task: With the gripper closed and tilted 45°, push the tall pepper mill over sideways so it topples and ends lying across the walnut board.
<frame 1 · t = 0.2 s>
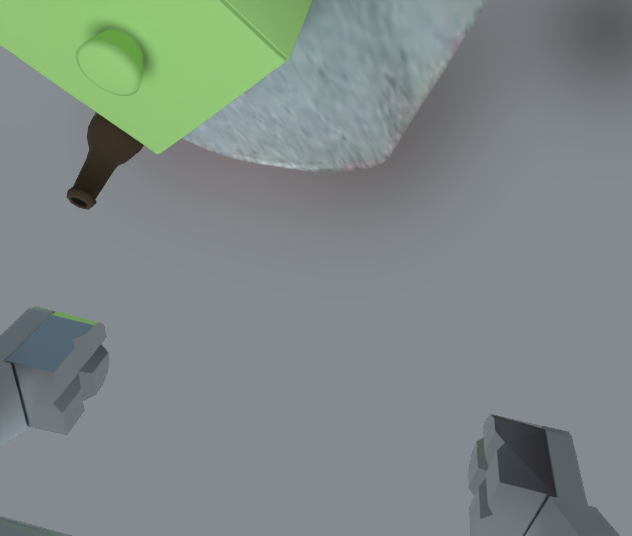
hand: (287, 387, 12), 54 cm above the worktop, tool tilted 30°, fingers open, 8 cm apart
beer bottle: (150, 74, 84), on the worktop
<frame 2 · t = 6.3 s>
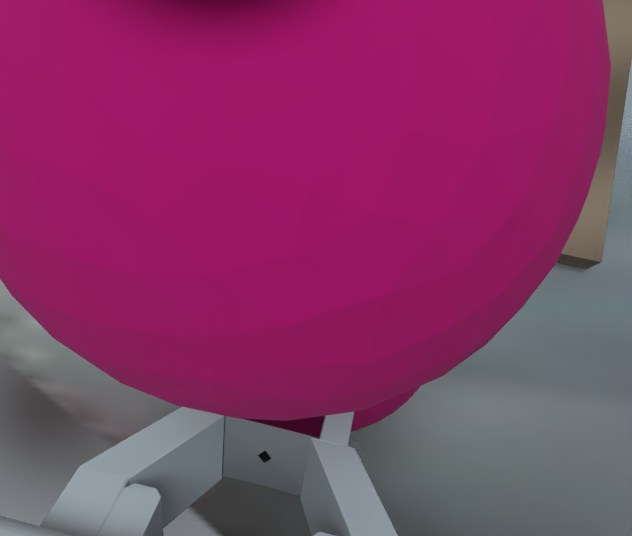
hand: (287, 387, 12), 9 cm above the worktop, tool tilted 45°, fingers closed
pepper mill: (327, 330, 21), on the worktop, touching gripper
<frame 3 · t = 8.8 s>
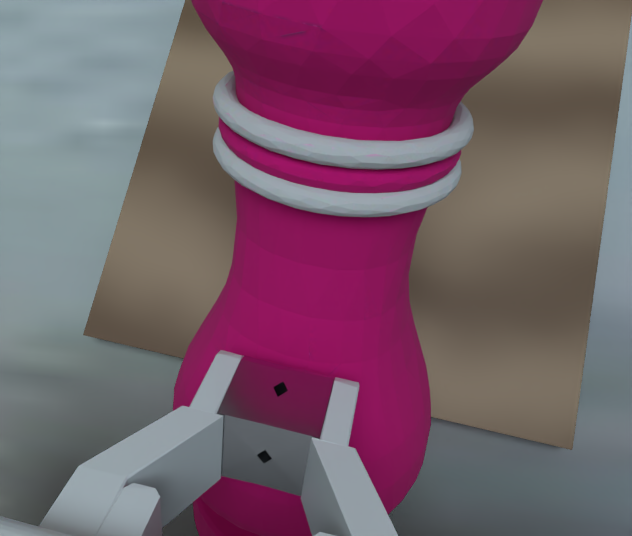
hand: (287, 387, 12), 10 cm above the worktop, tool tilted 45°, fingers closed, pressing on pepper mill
pepper mill: (289, 501, 19), point 2 cm above the worktop, touching gripper
walnut board: (387, 82, 24), on the worktop
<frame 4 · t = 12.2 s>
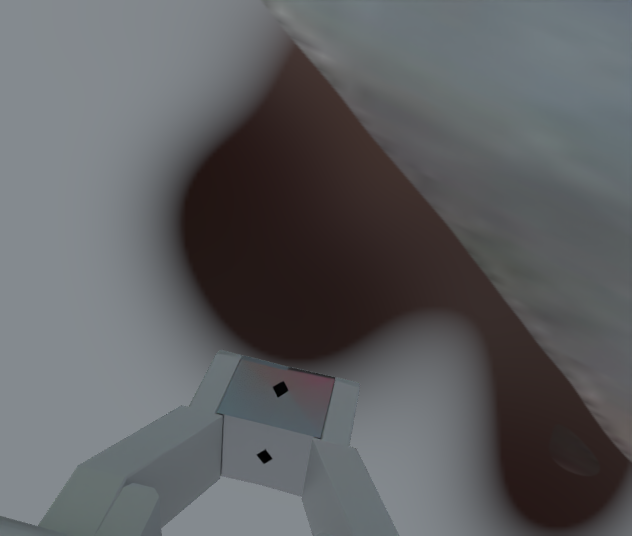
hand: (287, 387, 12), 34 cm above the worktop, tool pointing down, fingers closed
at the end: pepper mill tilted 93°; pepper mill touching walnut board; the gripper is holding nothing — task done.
